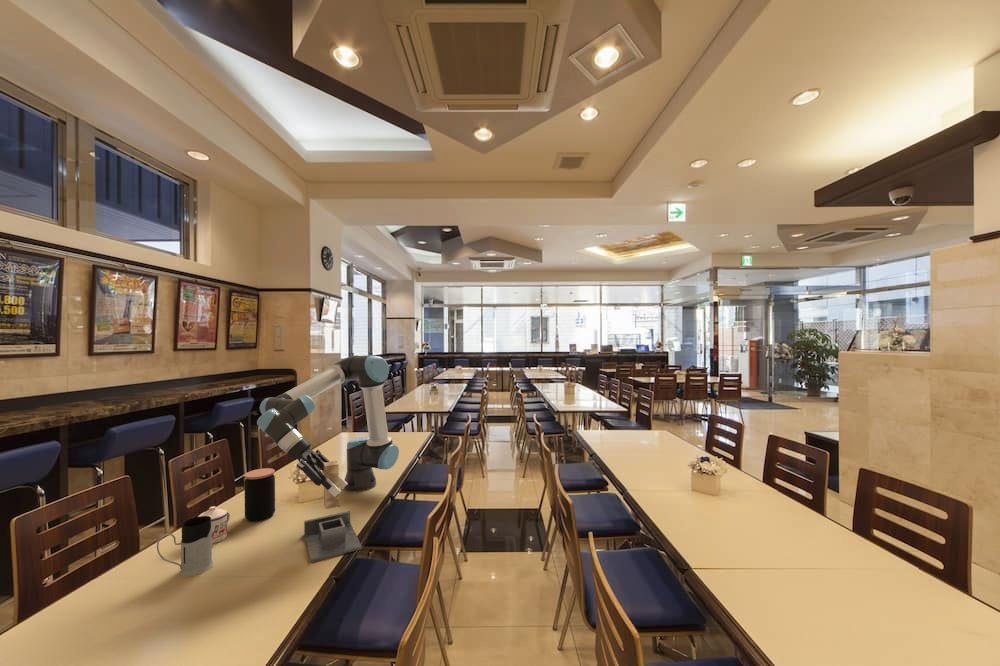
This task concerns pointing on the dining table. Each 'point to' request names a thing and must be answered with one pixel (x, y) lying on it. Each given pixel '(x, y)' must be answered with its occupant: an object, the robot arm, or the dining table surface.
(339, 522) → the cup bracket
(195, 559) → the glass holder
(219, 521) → the teacup with lid
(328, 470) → the wooden block
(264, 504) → the coffee jar
